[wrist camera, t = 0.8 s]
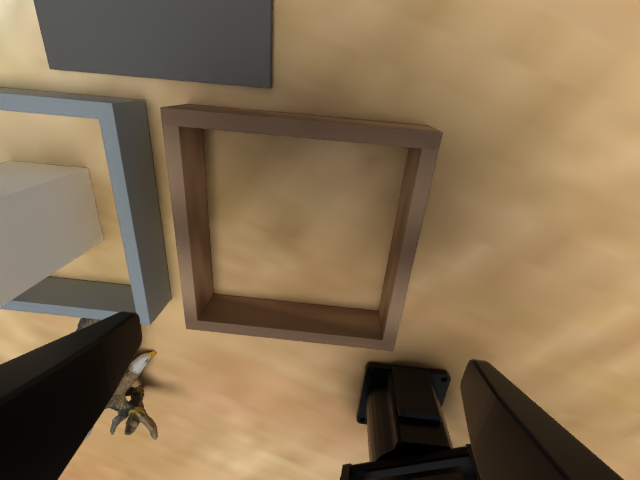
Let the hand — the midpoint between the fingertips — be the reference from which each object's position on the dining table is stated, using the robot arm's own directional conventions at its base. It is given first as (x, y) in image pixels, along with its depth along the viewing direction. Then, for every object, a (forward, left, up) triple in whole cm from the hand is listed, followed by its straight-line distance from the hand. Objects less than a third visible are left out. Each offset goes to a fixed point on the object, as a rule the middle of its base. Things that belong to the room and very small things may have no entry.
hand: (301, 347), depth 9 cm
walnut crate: (-2, +2, -13) cm, 13 cm away
